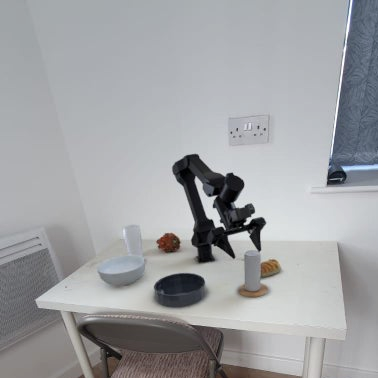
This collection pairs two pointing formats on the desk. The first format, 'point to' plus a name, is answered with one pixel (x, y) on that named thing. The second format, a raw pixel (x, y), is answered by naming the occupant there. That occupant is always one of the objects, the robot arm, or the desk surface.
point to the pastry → (269, 267)
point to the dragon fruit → (169, 242)
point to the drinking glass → (133, 239)
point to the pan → (180, 290)
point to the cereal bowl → (121, 269)
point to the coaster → (258, 293)
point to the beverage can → (252, 270)
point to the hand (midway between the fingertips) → (247, 254)
